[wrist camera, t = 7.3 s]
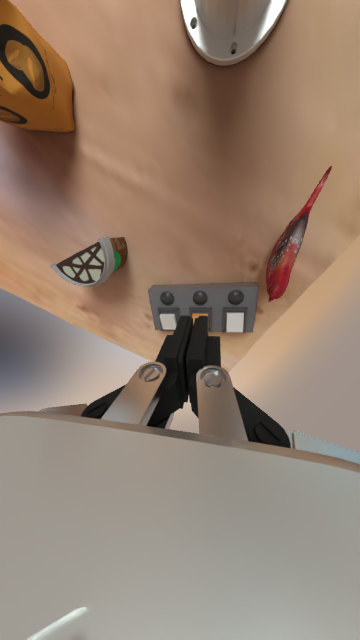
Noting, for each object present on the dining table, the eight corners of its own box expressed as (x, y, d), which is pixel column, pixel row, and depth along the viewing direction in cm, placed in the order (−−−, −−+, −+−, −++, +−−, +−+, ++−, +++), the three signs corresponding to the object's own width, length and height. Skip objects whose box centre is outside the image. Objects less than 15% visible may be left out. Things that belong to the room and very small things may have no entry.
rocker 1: (160, 313, 37) (159, 316, 37) (174, 313, 37) (173, 316, 36) (164, 326, 40) (163, 329, 39) (177, 326, 39) (176, 329, 39)
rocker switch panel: (152, 285, 39) (147, 290, 36) (255, 282, 35) (259, 287, 32) (159, 323, 44) (154, 331, 41) (250, 324, 39) (253, 333, 36)
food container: (100, 282, 41) (70, 297, 33) (85, 256, 39) (48, 266, 30) (143, 263, 37) (121, 276, 29) (129, 234, 35) (101, 237, 26)
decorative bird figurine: (251, 285, 35) (262, 305, 27) (298, 175, 26) (338, 151, 17) (265, 288, 35) (281, 310, 26) (318, 178, 26) (368, 157, 17)
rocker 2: (226, 312, 35) (227, 313, 35) (243, 312, 35) (243, 313, 34) (226, 330, 36) (226, 332, 35) (242, 331, 36) (242, 332, 35)
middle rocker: (192, 313, 36) (192, 316, 35) (207, 313, 35) (207, 316, 35) (193, 327, 38) (193, 330, 38) (208, 328, 38) (208, 330, 37)
